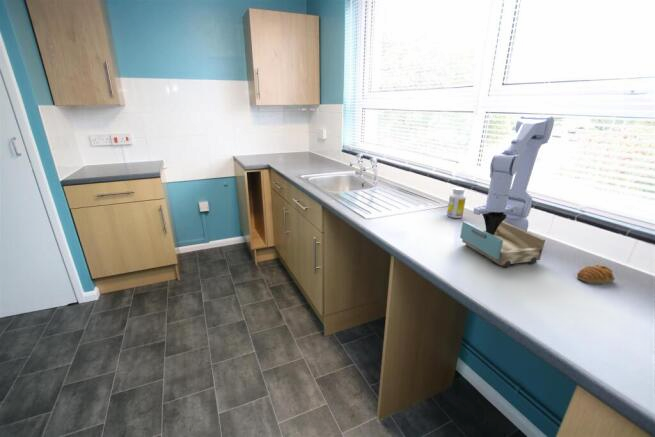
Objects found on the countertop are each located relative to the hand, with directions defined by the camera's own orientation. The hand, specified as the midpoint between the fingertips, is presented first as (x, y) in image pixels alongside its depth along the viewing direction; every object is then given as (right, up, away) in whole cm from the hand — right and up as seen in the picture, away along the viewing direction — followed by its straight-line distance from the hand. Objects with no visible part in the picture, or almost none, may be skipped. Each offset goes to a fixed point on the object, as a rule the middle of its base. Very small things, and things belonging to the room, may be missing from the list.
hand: (489, 233), depth 102 cm
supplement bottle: (+5, +6, +40) cm, 41 cm away
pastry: (+25, -13, -11) cm, 30 cm away
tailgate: (-3, -4, +1) cm, 5 cm away
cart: (+5, -7, +4) cm, 9 cm away
